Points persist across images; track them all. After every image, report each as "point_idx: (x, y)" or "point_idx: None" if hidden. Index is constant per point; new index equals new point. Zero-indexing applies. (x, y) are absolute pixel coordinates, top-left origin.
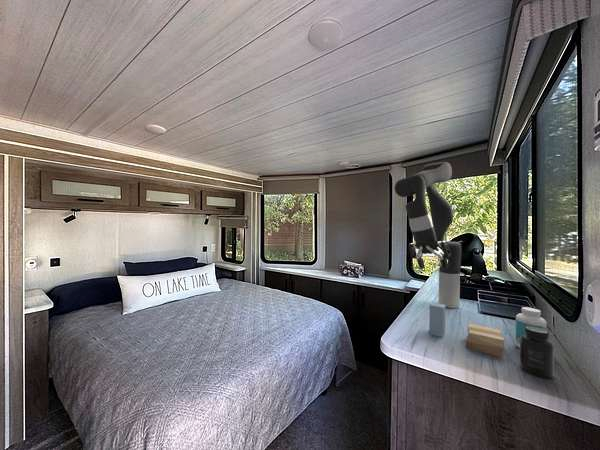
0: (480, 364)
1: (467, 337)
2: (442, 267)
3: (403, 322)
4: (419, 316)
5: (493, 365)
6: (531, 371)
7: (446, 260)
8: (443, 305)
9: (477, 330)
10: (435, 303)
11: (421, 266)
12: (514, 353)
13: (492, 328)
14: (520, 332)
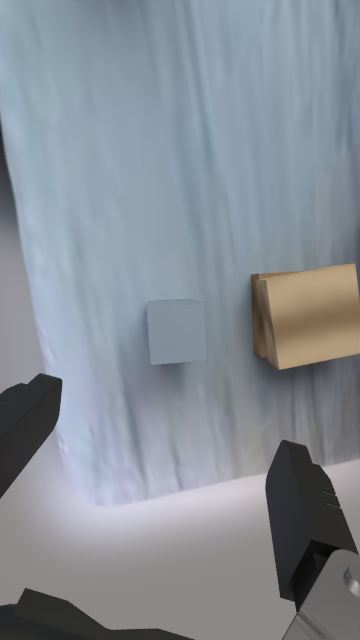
0: (292, 427)
1: (261, 335)
2: (268, 501)
3: (51, 311)
4: (72, 195)
5: (316, 408)
6: None
7: (346, 548)
8: (198, 323)
9: (298, 330)
10: (163, 320)
11: (42, 441)
12: None
13: (335, 268)
14: None
